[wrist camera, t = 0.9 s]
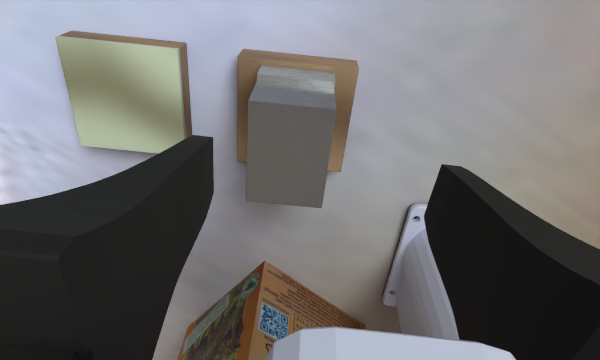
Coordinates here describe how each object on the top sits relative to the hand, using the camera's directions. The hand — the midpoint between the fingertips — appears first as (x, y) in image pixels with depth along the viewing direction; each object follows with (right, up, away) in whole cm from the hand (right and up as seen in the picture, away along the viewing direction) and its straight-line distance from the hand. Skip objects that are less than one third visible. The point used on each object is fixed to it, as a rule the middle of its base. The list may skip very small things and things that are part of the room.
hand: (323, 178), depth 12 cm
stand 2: (-1, +4, +10) cm, 11 cm away
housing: (-1, +3, +8) cm, 9 cm away
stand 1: (-10, +5, +10) cm, 15 cm away
